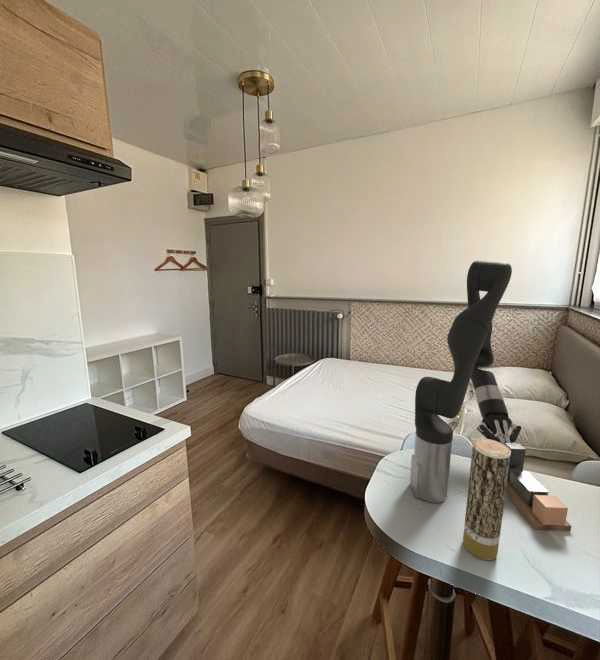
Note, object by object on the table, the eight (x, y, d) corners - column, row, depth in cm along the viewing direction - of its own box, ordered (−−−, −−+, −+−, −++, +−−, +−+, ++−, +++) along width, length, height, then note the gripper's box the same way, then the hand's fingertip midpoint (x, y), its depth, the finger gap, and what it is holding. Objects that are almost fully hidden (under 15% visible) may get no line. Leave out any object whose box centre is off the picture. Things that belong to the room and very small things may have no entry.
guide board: (535, 529, 74) (536, 524, 74) (490, 475, 94) (491, 471, 94) (570, 531, 74) (571, 525, 74) (518, 476, 94) (518, 472, 93)
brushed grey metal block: (539, 516, 76) (545, 480, 74) (500, 473, 92) (504, 442, 90) (556, 517, 76) (562, 480, 74) (514, 474, 92) (519, 443, 90)
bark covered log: (487, 536, 73) (500, 439, 68) (503, 563, 66) (518, 457, 61) (457, 534, 73) (467, 437, 69) (470, 560, 67) (482, 455, 62)
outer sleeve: (527, 506, 80) (529, 491, 79) (508, 485, 88) (510, 471, 87) (546, 506, 80) (548, 491, 79) (525, 485, 87) (527, 471, 87)
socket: (543, 524, 74) (545, 507, 73) (531, 511, 78) (534, 495, 77) (565, 525, 74) (568, 508, 73) (552, 512, 78) (555, 495, 77)
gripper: (474, 397, 99) (491, 454, 89) (517, 398, 98) (539, 455, 88) (465, 405, 105) (479, 459, 95) (505, 406, 104) (524, 461, 94)
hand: (508, 457), depth 92 cm, fingers closed
